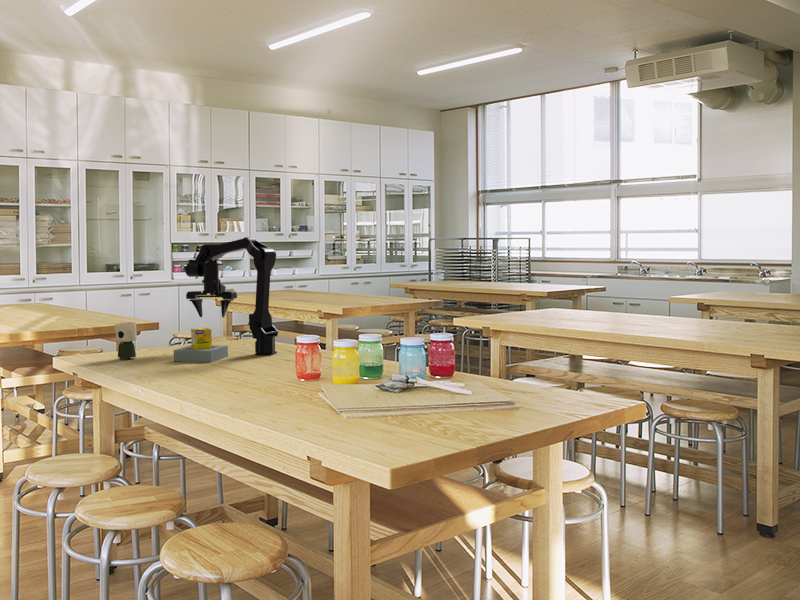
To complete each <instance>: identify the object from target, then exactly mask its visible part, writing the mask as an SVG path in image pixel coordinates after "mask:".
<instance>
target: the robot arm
mask: <svg viewBox="0 0 800 600" xmlns="http://www.w3.org/2000/svg"><path fill="white" fill-rule="evenodd" d="M200 247H201V248H200V250H199V252H198V253H197V255H196V257H195V259H188V262H187V264H186V266H185V269H184V271H185V274H186V276H187V277H189V278H203V279H202V280H201V283H202V284H203V290H202V291H201V290H191V291H186V292H187V293H186V294H185V299H186V300H188V301H189V302H191V303H192V304H193V306H194V308H195V310H196V312H197V313H198V316H199V318H203V301H204V299H203V298H222V299H220V309H221V318H225V316H226V313H227V310H228V307H229V305H230V304H231V302H232V301H234V299H238V293H237V291H235V290H227V291H226V286H225V285H224V284H223V283H221V279H220V278H219V277H220V274H219V273H220V271H219V266H223V265H224V263H223V262H222V261H221V260H220V258H222V257H224V256H225V255H226V254H229V253H234V252H238V251H243V250H246V251H247V253H248V255H250V256H251V257H252V259H253V265H254V267H255V269H256V286H255V287H256V288H255V289H256V291H255V306H254V307H255V308H254V311H253V313H248V323H247V325H248V327H249V330H250V331H251V334H252V337H253V339H255V342H254V347H255V349H254V350H255V351H254V352H255V353H254V355H257V356H258V355H259V356H261V355H262V356H266V355H267V356H268V355H269V356H272V355H275V354H277V352H278V351H276V337H278V335H279V330H278V329H277V328H276V326H274V325H273V320H272V315H271V313H270V311H269V303H270V286H271V273H272V270H273V268H274V267H275V263H276V258H277V253H276V250H275V249H273V248H272V247H268V246H267V245H266V244H264V243H262V242H260V241H258V240H257V239H256V238H254V237H252V236H251V237H250V236H247V237H246V236H245V237H243V238H239V239H236V240H232V241H228V242H224V243H218V244H209V243H208V244H203V245H201V246H200Z"/></svg>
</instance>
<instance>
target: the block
mask: <svg viewBox="0 0 800 600" xmlns="http://www.w3.org/2000/svg"><path fill="white" fill-rule="evenodd" d="M224 357H225V358H227V357H229V346H228V345H227V344H226V345H225V344H224V345H223V344H221V345H220V344H212V348H211V349H207V350H200V349H192V344H191V345H188V346H184V347H181V348H177V349H173V361H174V362H175V361H182V362H183V361H184V362H185V361H186V362H187V363H213V362H216V361H218V359H219V360H222V359H224ZM221 358H222V359H221ZM182 362H181V363H182ZM186 362H185V363H186Z"/></svg>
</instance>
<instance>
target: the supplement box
mask: <svg viewBox="0 0 800 600" xmlns="http://www.w3.org/2000/svg"><path fill="white" fill-rule="evenodd" d="M190 332H191V334H190V335H191V336H190V337H191V345H192V349H200V350H207V349H211V348H212V345H213V344H212V342H213V341H212V329H211V328H208V327H197V328H193V327H192V328H191V329H190Z"/></svg>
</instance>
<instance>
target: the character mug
mask: <svg viewBox="0 0 800 600" xmlns="http://www.w3.org/2000/svg"><path fill="white" fill-rule="evenodd" d="M114 331H115V341H116V342H119V344H118V349H117V358H118V359H119V360H122V359H123V360H130V359H132V358H136V357H137V354H136V347H135V343H134V342H135V341H137V338H138V336H137V335H138V333H137V322H134V321H133V322H132V321H131V322H127V321H126V322H117V323H115V324H114Z"/></svg>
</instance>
